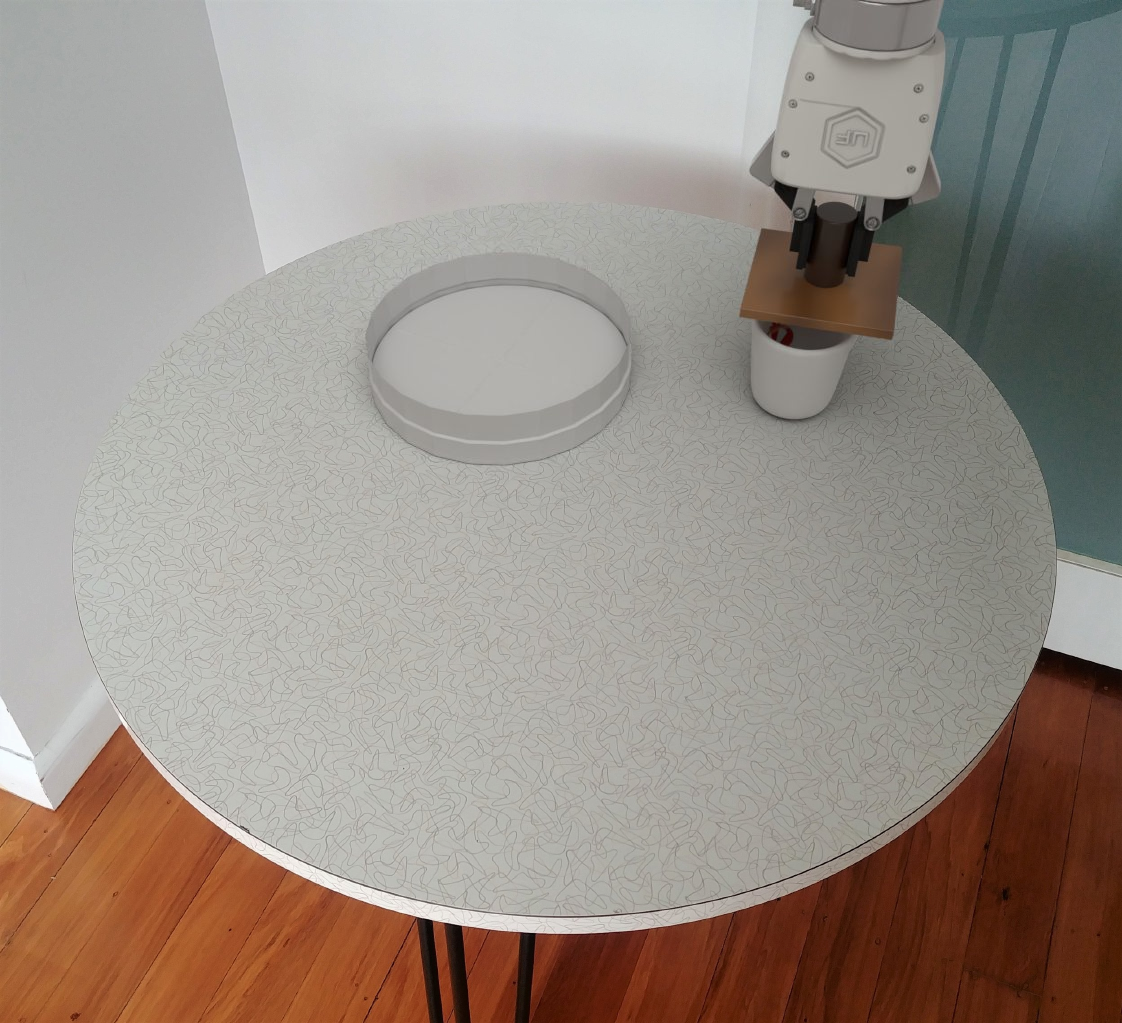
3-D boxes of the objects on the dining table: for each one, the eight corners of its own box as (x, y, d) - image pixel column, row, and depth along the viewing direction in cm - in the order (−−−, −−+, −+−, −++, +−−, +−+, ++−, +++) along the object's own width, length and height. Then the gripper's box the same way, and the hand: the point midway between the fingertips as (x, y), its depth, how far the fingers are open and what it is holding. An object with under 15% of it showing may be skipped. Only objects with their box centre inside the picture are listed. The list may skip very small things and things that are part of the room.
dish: (319, 415, 87) (308, 368, 84) (453, 274, 101) (449, 228, 97) (561, 499, 80) (560, 451, 77) (671, 335, 94) (674, 288, 90)
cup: (813, 343, 93) (828, 266, 87) (882, 391, 88) (903, 312, 82) (721, 392, 88) (731, 314, 83) (789, 445, 84) (804, 366, 78)
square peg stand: (900, 255, 83) (919, 182, 79) (891, 340, 76) (911, 266, 71) (760, 236, 85) (770, 164, 81) (739, 317, 78) (749, 243, 73)
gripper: (736, 22, 65) (709, 275, 78) (1016, 50, 62) (937, 309, 75) (754, -25, 70) (726, 221, 83) (1014, -1, 67) (941, 250, 80)
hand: (827, 261), depth 79 cm, fingers closed on square peg stand, 3 cm apart
